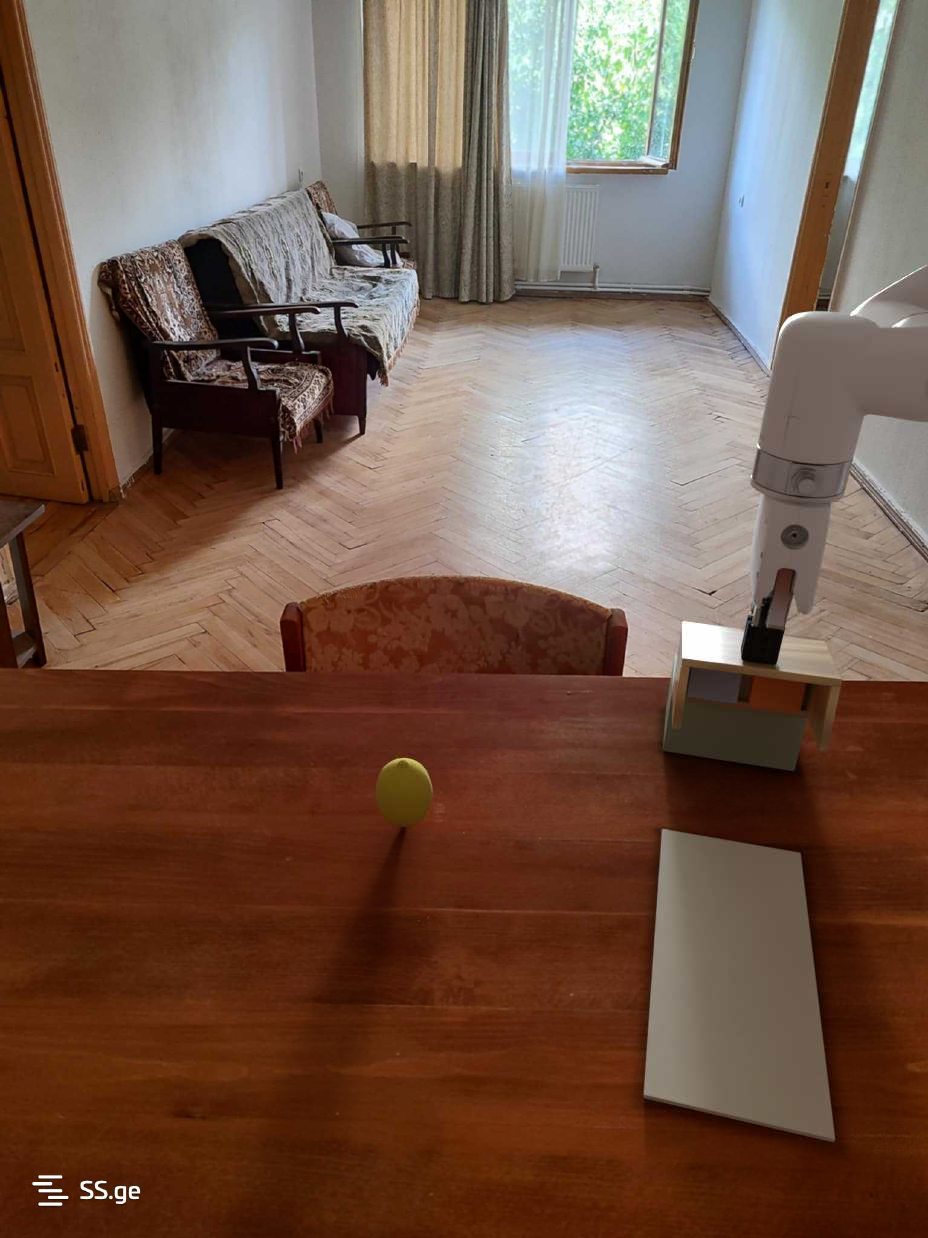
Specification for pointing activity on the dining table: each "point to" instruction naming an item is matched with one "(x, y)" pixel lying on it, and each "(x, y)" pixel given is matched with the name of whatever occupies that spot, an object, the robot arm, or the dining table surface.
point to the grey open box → (734, 734)
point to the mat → (736, 988)
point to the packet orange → (776, 693)
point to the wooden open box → (760, 673)
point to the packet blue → (713, 685)
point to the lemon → (403, 792)
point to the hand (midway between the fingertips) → (758, 658)
